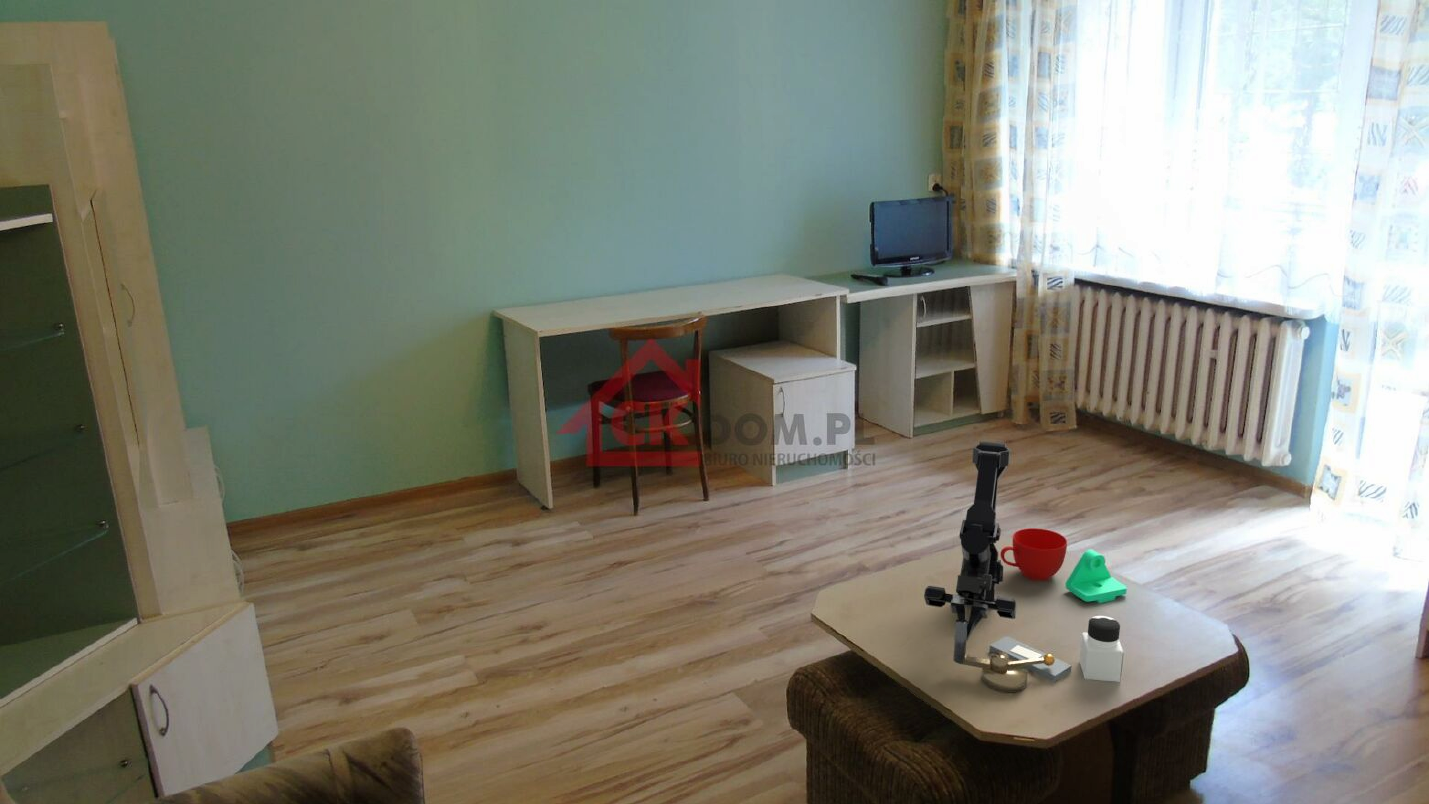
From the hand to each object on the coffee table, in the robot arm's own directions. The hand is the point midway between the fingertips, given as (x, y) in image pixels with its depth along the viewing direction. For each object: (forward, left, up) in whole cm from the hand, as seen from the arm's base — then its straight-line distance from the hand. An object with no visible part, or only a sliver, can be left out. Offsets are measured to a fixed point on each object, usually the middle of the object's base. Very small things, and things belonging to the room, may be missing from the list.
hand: (964, 641), depth 208 cm
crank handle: (+5, +6, -6) cm, 10 cm away
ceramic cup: (-31, +39, -7) cm, 50 cm away
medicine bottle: (+11, +26, -7) cm, 29 cm away
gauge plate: (+2, +15, -7) cm, 17 cm away
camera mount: (-17, +48, -7) cm, 52 cm away
